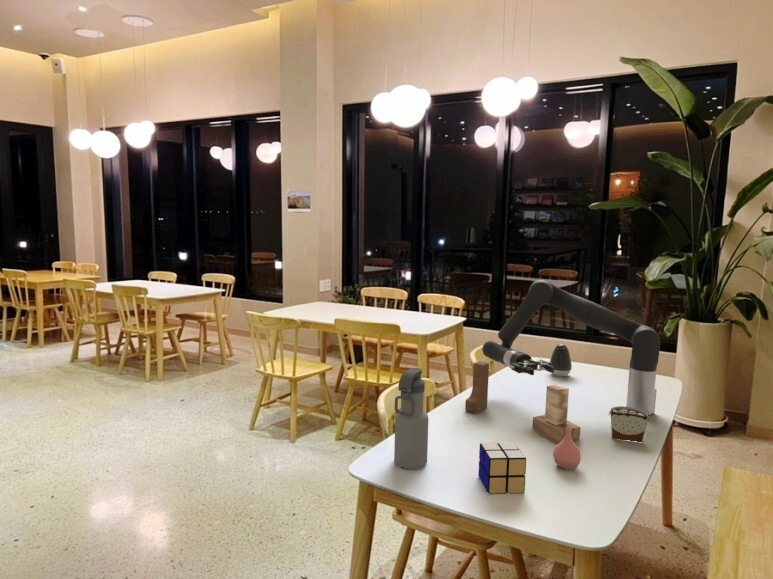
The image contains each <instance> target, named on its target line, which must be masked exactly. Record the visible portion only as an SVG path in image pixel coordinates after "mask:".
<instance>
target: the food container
mask: <svg viewBox="0 0 773 579" xmlns="http://www.w3.org/2000/svg"><path fill="white" fill-rule="evenodd" d="M608 416H610V428H611V429H610V430H611V440H614V439H618V440H617V441H621V440H630V441H637V442H643V443H644V439H645V434H646V433H645V432H646V428H647V423H648V422H650V421H651V420H650V416H648V414H647V413H646V412H644V411H642V410H639V409H636V408H631V407H626V406H624V405H623V406H619V405H618V406H614V407H611V408H610V410H609V412H608ZM619 439H620V440H619Z"/></svg>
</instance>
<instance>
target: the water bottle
mask: <svg viewBox="0 0 773 579" xmlns="http://www.w3.org/2000/svg"><path fill="white" fill-rule="evenodd" d="M422 374H423V369H422V368H419V367H410V368H409V369H407V370H405V371H404V372H403V373H402V374H401V375H400V377H399V382H398V387H397V388H398V391H400V395H397V396H395V397H394V411H395V413H396V414H395V417H394V450H393V451H394V453H393V454H394V455H393V460H394V461H393V462H394V463H395V464H396V465H397V467H399V466H400V467H399V468H401V467H403V468H402V469H405V468H407V469H406V470H419V469H422V468H424V467H425V466H426V464H427V463H428V449H429V448H428V447H429V446H428V444H429V415H428V413H427V412H426V411H425V410H424V401H425V400H424V399H425V398H424V397H425V396H424V394H425V392H426V391H425V390H426V387H425V386H426V381H425V380H424V379H422V378H421V376H422ZM399 400H400V409H399V408H398V403H399V402H398V401H399ZM418 468H419V469H418Z"/></svg>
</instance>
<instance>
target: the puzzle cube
mask: <svg viewBox="0 0 773 579" xmlns="http://www.w3.org/2000/svg"><path fill="white" fill-rule="evenodd" d="M478 453H479V454H478V456H479V457H478V459H479V461H478V474H477V475H478V476H477V477H478V478H479V479H480V482H481V481H482V482H481V483H482V486H483V487H484V489H485V491H486V493H487V492H488V493H505V494H507V493H510V494H524V493H525V491H526V490H525V489H526V471H527V469H526V468H527V458H526V456H525V455H524V453H523V452H522V451H521V449H520V448H519V447H518V446H517V445H516V443H515V442H513V441H512V442H498V443H497V442H481V443H479V452H478ZM488 493H487V494H488Z"/></svg>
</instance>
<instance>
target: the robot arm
mask: <svg viewBox="0 0 773 579" xmlns="http://www.w3.org/2000/svg"><path fill="white" fill-rule="evenodd" d="M545 304H547V305H549V306H553V307H555V308H557V309H559V310H561V311H563V312H564V313H566V314H567V315H568V316H570V317H571V318H573V319H574V320H576V321H577V322H579V323H581V324H583V325H586V326H588V327H590V328H593V329H595V330H598V331H601V332H604V333H605V332H606V333H610V334H613V335H615V336H618V337H620V338H622V339H624V340H625V341H627V342H629V343H631V356H630V360H629V367H628V368H629V369H628V384H627V392H626V394H627V395H626V406H625V407H631V408H636V409H639V410H642V411H644V412H646V413H647V414H648V415H650V416H652V415H653V414H655V413H656V411H655V410H656V401H657V388H656V377H657V368H658V364H659V357H660V349H661V338H660V335H659V334H658V333H657V331H656V330H655V329H654V328H652V327H650V326H648V325H645V324H642V323H638V322H635V321H633V320H630V319H627V318H625V317H623V316H621V315H619V314H618V313H616V312H614V311H612V310H610V309H608V308H606V307H605V306H602V305H601V304H599V303H596V302H594V301H591V300H589V299H586V298H584V297H582V296H579V295H575V294H573V293H570V292H568V291H566V290H564V289H561V288H560V287H557V286H556V285H555V284H553V283H551V282H549V281H548V280H546V279H537V280H535V281H533V282H532V284H530V286H529V288H528V291H527V294H526V295H525V297H524V299H523V301H522V303H521V304H520V305H519V307H518V308H517V309H516V310H515V312H514V313H513V314H512V315H511V316H510V317H509V319H508V320H507V321H506V322H505V324H504V325H503V326H502V328H500V330H499V332H498V333H497V336H498V339H499V340H500V341H501V343H498V342H495V341H494V340H489V341H486V342H485V343H484V344H483V346H482V348H481V349H482V353H483V355H484V356H485V357H487V358H488V359H490V360H493V361H495V362H497V363H500V364H502V365H504V366H506V367H508V368H509V369H511V370H512V371H514V372H516V373H517V374H528V375H530V376H534V375H535V371H537V372H538V371H539V372H542V371H545V372H547V373H548V372H549V373H551V374H552V373H554V367H552V366H551V363H550V361H546V360H544V359H539V360H535V359H533V358H532V356H530V355H529V354H528V353H525V352H523V351H520V350H517V349H512V346H513V343H514V341H516V339H517V338H518V337H519V335H520V334H521V332H522V331H523V330H524V328H525V327H526V326H527V324H528V322H529V321H530V320H531V319H532V317H533V316H534V315H535V313H537V311H538V310H539V309H540V308H542V307H543V305H544V306H545ZM538 366H539V367H538ZM654 412H655V413H654ZM652 413H653V414H652ZM651 414H652V415H651Z"/></svg>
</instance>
